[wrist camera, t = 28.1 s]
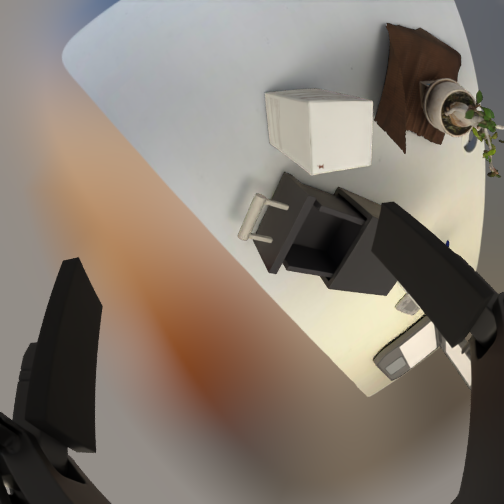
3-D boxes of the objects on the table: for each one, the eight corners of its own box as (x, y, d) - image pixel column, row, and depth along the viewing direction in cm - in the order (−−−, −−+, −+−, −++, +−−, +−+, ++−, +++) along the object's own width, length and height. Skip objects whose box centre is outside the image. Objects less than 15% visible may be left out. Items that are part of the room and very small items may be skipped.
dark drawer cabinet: (303, 251, 48) (328, 289, 41) (338, 186, 43) (373, 216, 35) (360, 264, 55) (386, 296, 47) (392, 210, 49) (425, 238, 41)
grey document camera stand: (369, 356, 83) (414, 433, 59) (441, 298, 78) (495, 367, 53) (389, 377, 106) (421, 432, 82) (443, 334, 101) (480, 386, 76)
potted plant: (434, 137, 44) (511, 217, 26) (351, 112, 43) (418, 191, 25) (460, 50, 30) (562, 98, 12) (373, 10, 29) (474, 16, 11)
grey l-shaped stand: (393, 307, 69) (413, 333, 61) (415, 281, 66) (438, 307, 58) (411, 314, 76) (429, 337, 68) (431, 292, 72) (450, 314, 64)
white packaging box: (318, 137, 37) (372, 168, 27) (268, 144, 36) (309, 178, 26) (316, 87, 32) (375, 100, 23) (263, 90, 31) (307, 101, 22)
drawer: (223, 234, 41) (235, 267, 35) (253, 161, 36) (273, 183, 30) (322, 255, 49) (343, 284, 43) (354, 198, 44) (382, 222, 38)
